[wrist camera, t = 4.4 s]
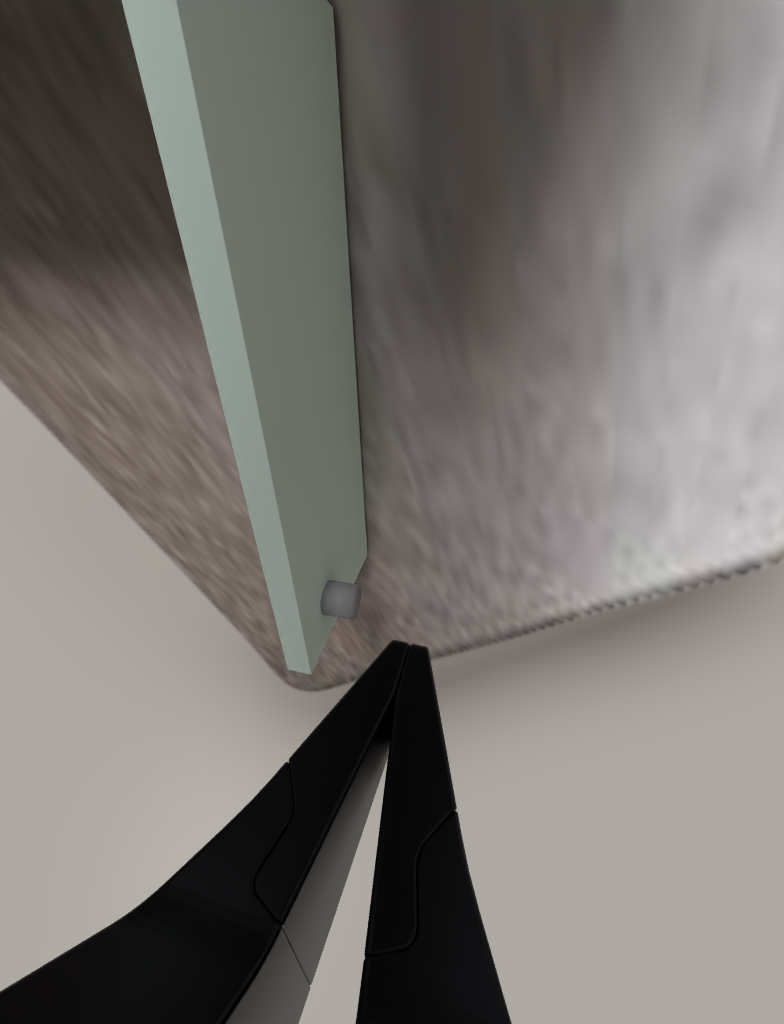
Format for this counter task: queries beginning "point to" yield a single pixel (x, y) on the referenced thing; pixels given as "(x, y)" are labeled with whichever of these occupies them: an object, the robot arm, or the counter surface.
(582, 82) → the counter surface
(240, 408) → the door
